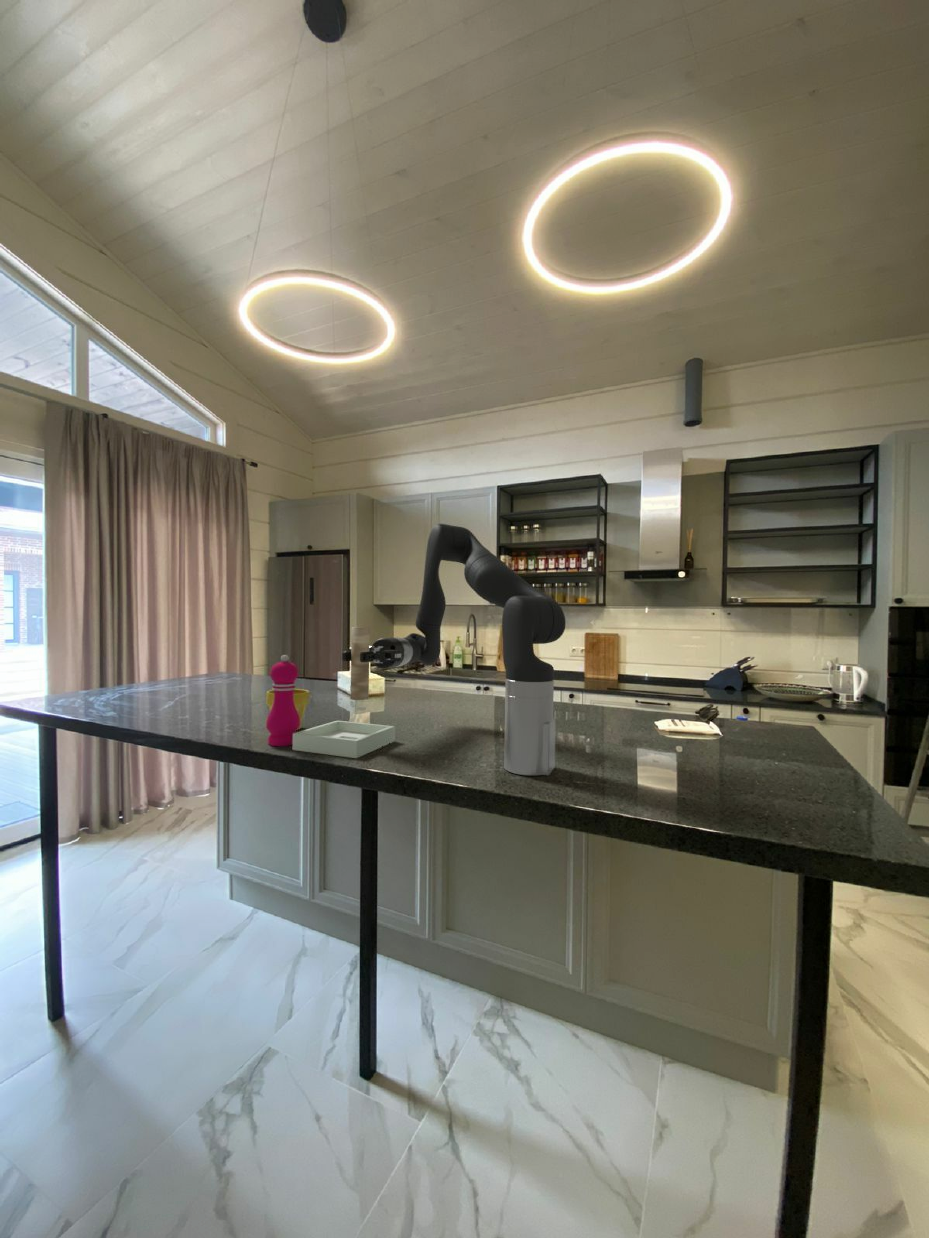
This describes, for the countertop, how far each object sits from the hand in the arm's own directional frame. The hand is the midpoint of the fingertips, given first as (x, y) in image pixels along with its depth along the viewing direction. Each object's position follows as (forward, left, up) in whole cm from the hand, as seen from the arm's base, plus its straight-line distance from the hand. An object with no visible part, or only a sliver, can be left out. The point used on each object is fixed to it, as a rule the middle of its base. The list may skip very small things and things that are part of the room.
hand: (353, 656), depth 109 cm
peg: (0, -3, -9) cm, 10 cm away
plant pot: (+26, -10, -20) cm, 34 cm away
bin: (+3, -2, -20) cm, 20 cm away
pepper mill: (+17, +2, -20) cm, 26 cm away
